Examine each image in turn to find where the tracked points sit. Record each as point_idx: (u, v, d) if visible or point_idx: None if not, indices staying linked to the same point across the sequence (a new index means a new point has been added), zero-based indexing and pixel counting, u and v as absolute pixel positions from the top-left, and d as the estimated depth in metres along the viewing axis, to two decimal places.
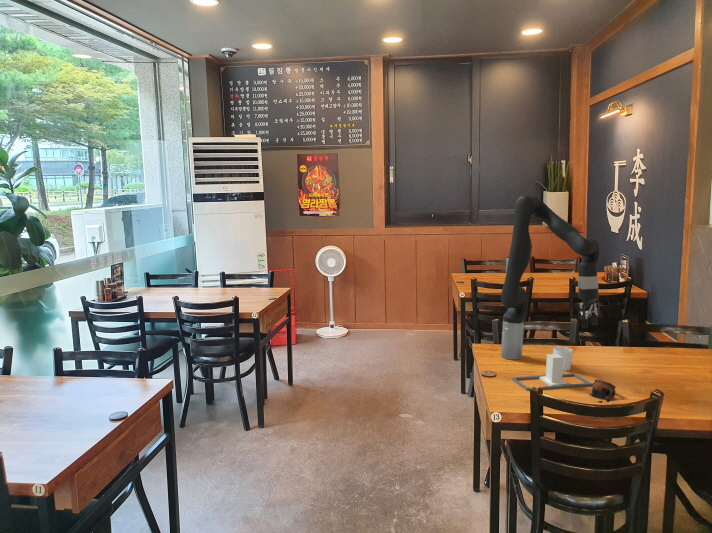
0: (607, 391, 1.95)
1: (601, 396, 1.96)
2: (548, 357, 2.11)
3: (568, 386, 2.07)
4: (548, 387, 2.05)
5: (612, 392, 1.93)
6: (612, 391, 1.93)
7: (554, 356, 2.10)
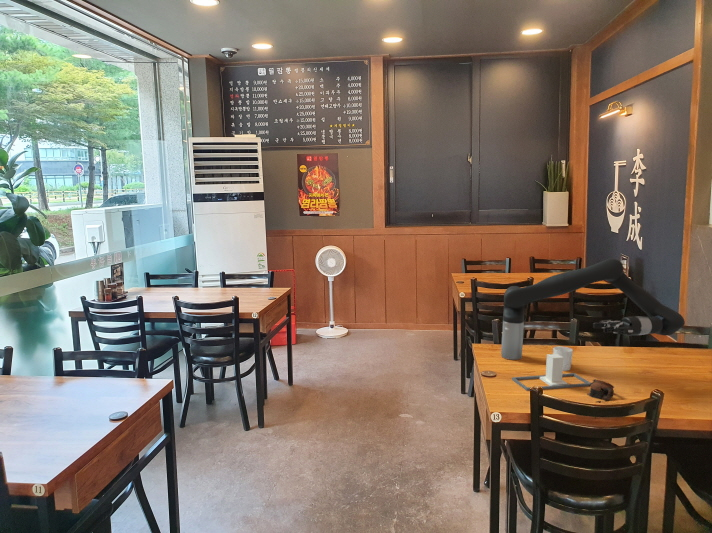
0: (605, 391, 1.95)
1: (599, 395, 1.96)
2: (548, 357, 2.11)
3: (568, 386, 2.07)
4: (548, 387, 2.05)
5: (610, 392, 1.93)
6: (610, 391, 1.93)
7: (554, 356, 2.10)
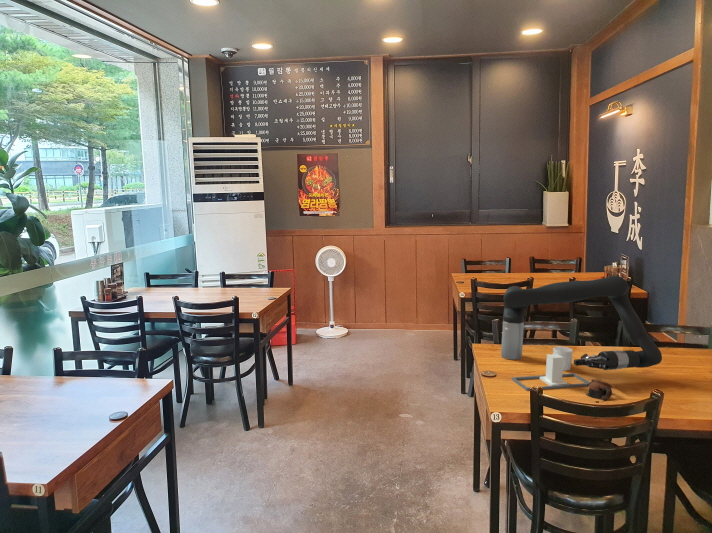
0: (604, 391, 1.95)
1: (597, 395, 1.96)
2: (548, 357, 2.11)
3: (568, 386, 2.07)
4: (548, 387, 2.05)
5: (609, 392, 1.93)
6: (609, 391, 1.93)
7: (554, 356, 2.10)
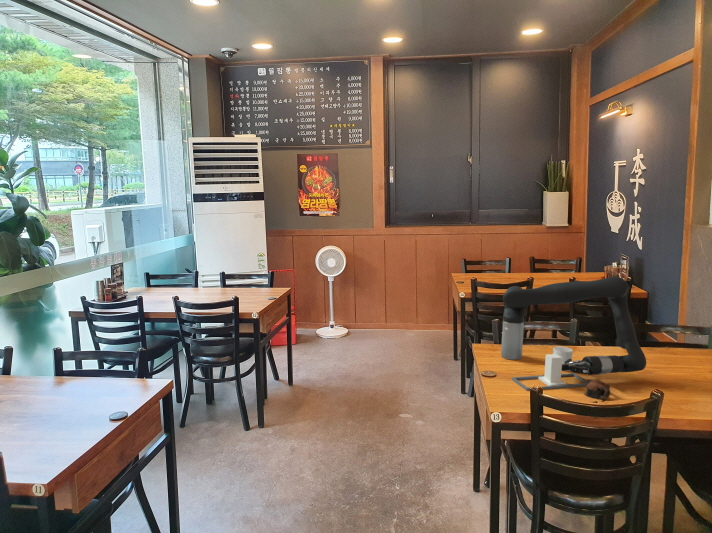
0: (602, 391, 1.95)
1: (596, 395, 1.96)
2: (547, 357, 2.11)
3: (568, 386, 2.07)
4: (548, 387, 2.05)
5: (607, 392, 1.93)
6: (607, 391, 1.93)
7: (553, 356, 2.10)
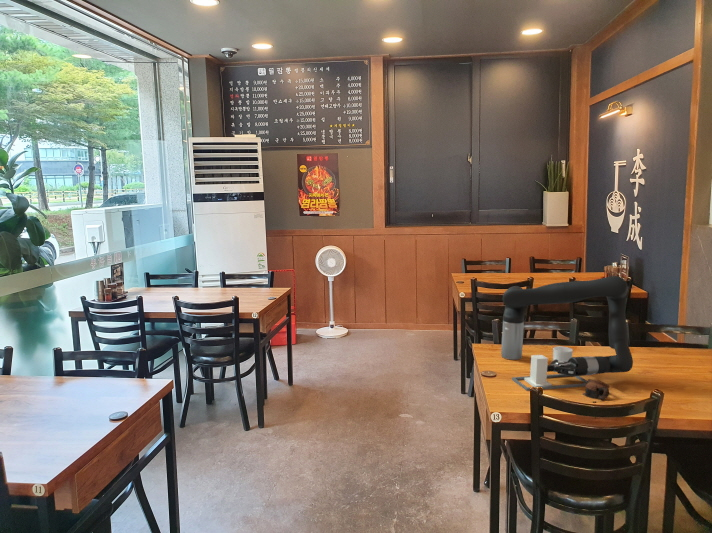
0: (601, 391, 1.95)
1: (595, 395, 1.96)
2: (532, 358, 2.10)
3: (568, 386, 2.07)
4: (548, 387, 2.05)
5: (606, 392, 1.93)
6: (606, 391, 1.93)
7: (538, 357, 2.08)
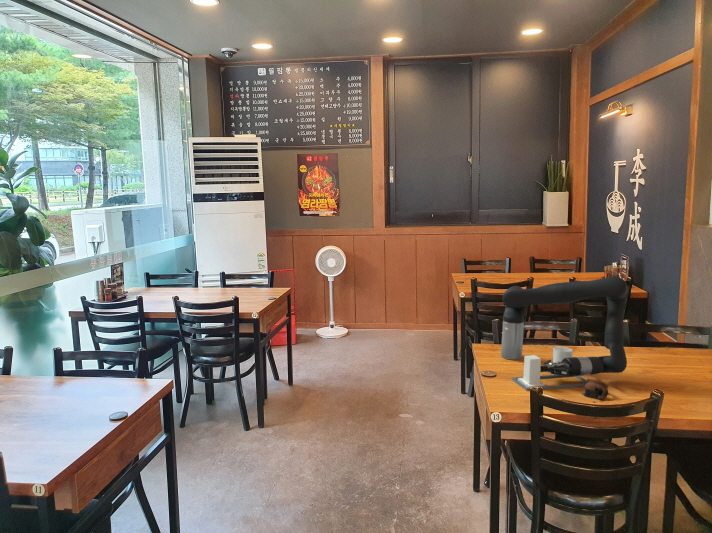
0: (600, 391, 1.96)
1: (594, 395, 1.96)
2: (526, 358, 2.09)
3: (568, 386, 2.07)
4: (548, 387, 2.05)
5: (605, 392, 1.93)
6: (605, 391, 1.93)
7: (531, 357, 2.08)
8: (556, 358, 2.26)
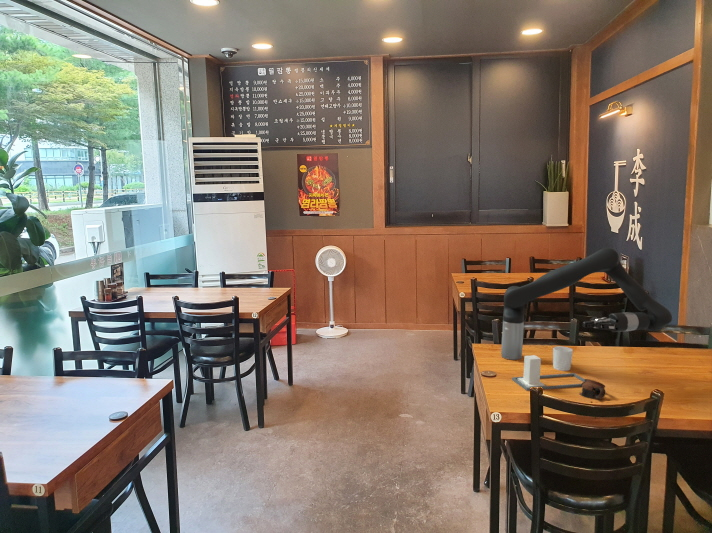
0: (597, 390, 1.96)
1: (591, 395, 1.96)
2: (525, 358, 2.09)
3: (568, 386, 2.07)
4: (548, 387, 2.05)
5: (602, 391, 1.93)
6: (602, 390, 1.93)
7: (531, 357, 2.08)
8: (556, 358, 2.26)
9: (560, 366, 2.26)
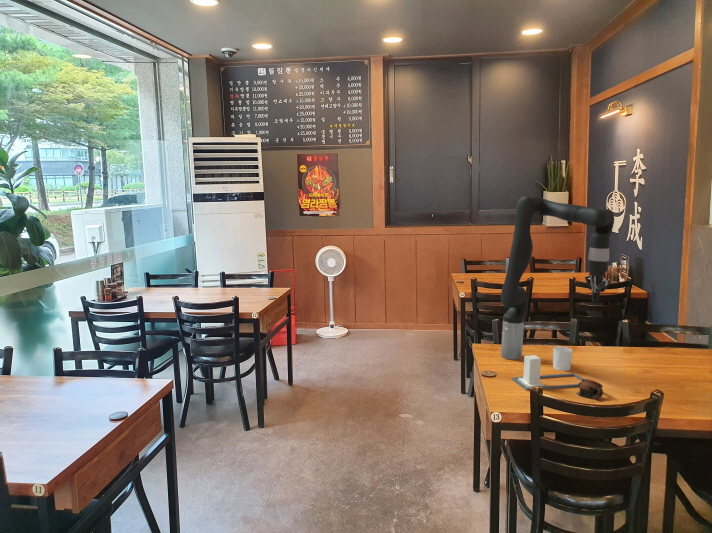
0: (595, 390, 1.96)
1: (588, 395, 1.96)
2: (525, 358, 2.09)
3: (568, 386, 2.07)
4: (548, 387, 2.05)
5: (600, 391, 1.93)
6: (600, 390, 1.93)
7: (531, 357, 2.08)
8: (556, 358, 2.26)
9: (560, 366, 2.26)
